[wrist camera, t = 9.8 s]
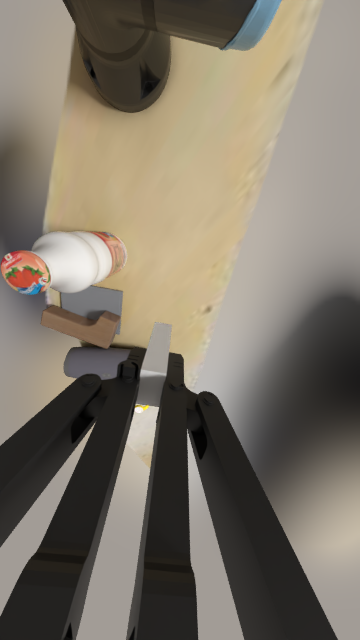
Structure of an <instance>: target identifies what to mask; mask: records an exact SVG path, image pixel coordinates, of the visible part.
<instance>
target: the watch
mask: <svg viewBox="0 0 360 640" xmlns="http://www.w3.org/2000/svg"><path fill="white" fill-rule="evenodd" d="M148 407H149V405H146V406H145V407H143V406H141V405H137V406H135V412H137V413H141V412H143V410H146V409H147V408H148Z"/></svg>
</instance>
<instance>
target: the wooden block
mask: <svg viewBox="0 0 360 640" xmlns="http://www.w3.org/2000/svg"><path fill="white" fill-rule="evenodd" d="M120 319H121V316H119V315H116V314H114V313H111V312H109V311H105V312H104V313H103V314H102V315H101V316H100V317H99V319H97V320H93V319H88V318H85V317H83V316H80V315H78V314H75V313H72V312H70V311H67V310H65V309H62V308H60V307H57V306H54V305H53V306H51V307H49V308H47V309H45V310H44V311H43V313H42V319H41V325H43V326H46V327H48V328H51V329H54V330H56V331H59V332H62V333H64V334H67V335H70V336H73V337H75V338H78V339H81V340H83V341H86V342H89V343H91V344H94V345H97V346H100V347H102V348H105V349H107V348H108V347H109V346H110V344H111V343H112V341H113V338H114V336H115V333H116V330H117V327H118V325H119V322H120Z"/></svg>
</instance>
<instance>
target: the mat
mask: <svg viewBox="0 0 360 640" xmlns="http://www.w3.org/2000/svg"><path fill="white" fill-rule="evenodd" d="M122 297H123V291H119V290H113V289H108V288H103V287H97V286H92V285H90V286H89V287H88V288H86V289H85V290H82V291H80V292H76V293H63V292H61V303H62V309H65V310H67V311H70V312H72V313H75V314H78V315H80V316H83V317H85V318H88V319H93V320H97V319H99V317H100V316H101V315H102V314H103V313H104V312H105V311H109V312H111V313H114V314H116V315H119V316H121V312H122ZM120 326H121V319H120V322H119V325H118V327H117V330H116V333H115V334H120Z"/></svg>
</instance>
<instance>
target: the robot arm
mask: <svg viewBox="0 0 360 640" xmlns="http://www.w3.org/2000/svg"><path fill="white" fill-rule="evenodd" d="M281 1H282V0H63V2H64V4H65V6H66V8H67V10H68V12H69V13H70V15H71V17H72V19H73V21H74V23H75V25H76V31H77V36H78V41H79V46H80V51H81V55H82V58H83V61H84V64H85V67H86V69H87V72H88V74H89V76H90V78H91V80H92V81H93V83H94V85H95V86H96V88H97V90H98V91H99V93H100V94H101V95H102V96H103V98H104V99H105V100H106V101H107V102H108V103H110V104H111V105H112V106H114V107H115V108H117V109H119V110H122V111H126V112H138V111H142V110H144V109H146V108H148V107H149V106H151V105H152V104H153V103H154V102H155V101H156V100H157V99H158V97H159V96H160V95H161V93H162V91H163V89H164V87H165V85H166V82H167V79H168V75H169V71H170V63H171V45H170V36H174V37H178V38H182V39H186V40H190V41H194V42H198V43H202V44H206V45H210V46H214V47H218V48H219V49H220V50H228V49H235V50H242V51H246V50H249V49H251V48H253V47H254V46H256V45H257V43H258V42H259V41H260V40H261V39H262V37H263V36H264V34H265V33H266V31H267V29H268V27H269V26H270V24H271V22H272V20H273V18H274V16H275V14H276V12H277V10H278V7H279V5H280V3H281ZM171 328H172V325H170V324H165V323H159V322H155V324H154V328H153V331H152V334H151V338H150V341H149V344H148V348H147V349H145V348H139V347H134V348H133V349H132V350H131V351H130V353H129V355H128V358H127V360H125V361H122V362H120V363H119V364H118V366H117V377H115V378H112V379H105V380H101V378H100V376H98V375H97V374H92V373H91V374H85V375H82V376H80V377H79V378H77V379H76V380H75V381H74V382H73V383H72V384H71V385H69V386H68V387H67V388H66V389H65V390H64V391H63V392H61V393H60V394H59V395H58V396H57V397H56V398H55V399H53V400H52V401H51V402H50V403H49V404H48V405H46V406H45V407H44V408H43V409H42V410H41V411H40V412H38V413H37V414H36V415H35V416H34V417H33V418H32V419H30V420H29V421H28V422H27V423H26V424H25V425H24V426H22V428H20V429H19V430H18V431H17V432H16V433H14V434H13V435H12V436H11V437H10V438H9V439H8V440H6V441H5V442H4V443H3V444H2V445H1V446H0V547H1V546H2V544H3V543H4V542H5V540H6V539H7V538H8V536H9V535H10V534H11V533H12V531H13V530H14V529H15V527H16V526H17V525H18V523H19V522H20V521H21V519H22V518H23V517H24V515H25V514H26V513H27V511H28V510H29V509H30V508H31V506H32V505H33V504H34V502H35V501H36V500H37V498H38V497H39V496H40V494H41V493H42V492H43V490H44V489H45V488H46V486H47V485H48V484H49V483H50V481H51V480H52V478H53V477H54V476H55V475H56V473H57V472H58V471H59V469H60V468H61V467H62V465H63V464H64V463H65V462H66V460H67V459H68V458H69V456H70V455H71V454H72V452H73V451H74V450H75V448H76V447H77V446H78V444H79V443H80V442H81V440H82V439H83V438H84V437H85V435H86V434H87V432H88V431H89V430H90V429H91V427H92V426H93V425H94V423H95V422H96V423H95V425H94V428H93V430H92V432H91V434H90V437H89V439H88V441H87V443H86V445H85V448H84V450H83V452H82V454H81V456H80V459H79V461H78V463H77V465H76V467H75V470H74V472H73V474H72V476H71V478H70V481H69V483H68V485H67V488H66V490H65V492H64V494H63V496H62V499H61V501H60V503H59V505H58V507H57V510H56V512H55V514H54V516H53V518H52V520H51V523H50V525H49V527H48V529H47V532H46V534H45V536H44V538H43V540H42V542H41V544H40V546H39V548H38V550H37V552H36V553H35V554H34V555H33V556H32V557H31V559H30V560H29V561H28V562H27V564H26V566H25V567H24V569H23V571H22V573H21V575H20V577H19V579H18V581H17V583H16V585H15V587H14V589H13V591H12V593H11V595H10V597H9V599H8V602H7V604H6V606H5V608H4V610H3V612H2V614H1V616H0V640H76V636H77V632H78V629H79V625H80V620H81V617H82V613H83V609H84V604H85V599H86V595H87V590H88V586H89V582H90V577H91V574H92V570H93V566H94V562H95V558H96V555H97V551H98V547H99V543H100V539H101V536H102V532H103V528H104V525H105V521H106V517H107V513H108V509H109V505H110V502H111V498H112V494H113V490H114V486H115V483H116V479H117V475H118V471H119V468H120V464H121V460H122V456H123V452H124V448H125V445H126V441H127V437H128V433H129V430H130V426H131V422H132V418H133V414H134V410H135V404H142V405H149V406H155V407H159V411H158V416H157V420H156V423H157V424H156V431H155V438H154V446H153V453H152V461H151V468H150V476H149V483H148V490H147V498H146V505H145V512H144V520H143V527H142V534H141V542H140V549H139V557H138V564H137V571H136V579H135V587H134V592H133V598H132V604H131V610H130V616H129V623H128V630H127V637H126V640H198V624H197V598H196V584H195V577H194V572H193V570H192V567H191V561H190V534H189V533H190V531H189V493H188V492H189V491H188V450H187V429H188V434H189V437H190V441H191V445H192V448H193V452H194V456H195V459H196V463H197V467H198V471H199V474H200V478H201V482H202V485H203V489H204V493H205V496H206V500H207V504H208V507H209V511H210V515H211V518H212V521H213V526H214V529H215V533H216V537H217V540H218V544H219V548H220V551H221V555H222V559H223V562H224V566H225V570H226V573H227V577H228V581H229V584H230V588H231V592H232V596H233V599H234V602H235V606H236V610H237V614H238V618H239V621H240V625H241V628H242V632H243V636H244V640H338V639H337V637H336V635H335V633H334V631H333V629H332V627H331V625H330V623H329V622H328V619H327V617H326V615H325V613H324V611H323V609H322V607H321V605H320V603H319V601H318V599H317V597H316V595H315V593H314V591H313V589H312V587H311V585H310V583H309V581H308V579H307V577H306V575H305V573H304V571H303V569H302V566H301V565H300V562H299V561H298V558H297V556H296V554H295V552H294V550H293V549H292V546H291V544H290V542H289V540H288V538H287V536H286V534H285V532H284V530H283V528H282V526H281V524H280V522H279V520H278V518H277V516H276V514H275V512H274V510H273V508H272V506H271V504H270V502H269V500H268V498H267V496H266V494H265V492H264V490H263V488H262V486H261V484H260V482H259V480H258V478H257V476H256V474H255V472H254V470H253V468H252V466H251V464H250V462H249V460H248V458H247V456H246V454H245V452H244V450H243V448H242V445H241V443H240V441H239V439H238V438H237V436H236V434H235V431H234V429H233V427H232V425H231V423H230V421H229V419H228V417H227V415H226V413H225V411H224V409H223V407H222V405H221V403H220V401H219V399H218V398H217V397H216V396H215V395H214V394H213V393H210V392H207V391H203V392H200V393H199V394H196V393H193V392H191V391H190V390H188V389H187V388H186V386H185V384H184V359H183V357H182V355H181V354H176V353H170V352H169V347H170V337H171Z"/></svg>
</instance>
